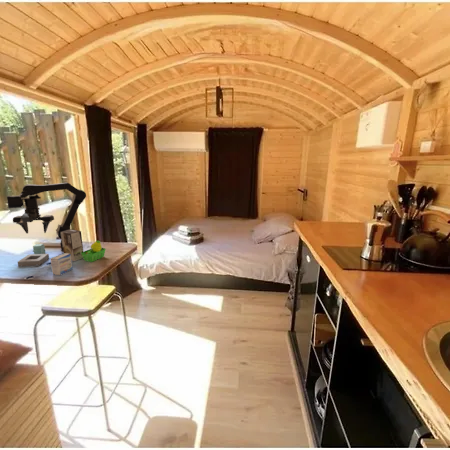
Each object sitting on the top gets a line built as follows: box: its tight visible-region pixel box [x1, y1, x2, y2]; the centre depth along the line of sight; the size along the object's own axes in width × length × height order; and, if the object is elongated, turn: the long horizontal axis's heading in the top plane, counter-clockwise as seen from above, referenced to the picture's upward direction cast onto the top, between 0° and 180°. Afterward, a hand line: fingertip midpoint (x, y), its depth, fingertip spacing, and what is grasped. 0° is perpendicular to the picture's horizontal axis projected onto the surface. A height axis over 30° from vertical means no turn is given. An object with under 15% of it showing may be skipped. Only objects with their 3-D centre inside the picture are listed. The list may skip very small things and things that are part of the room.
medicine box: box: [50, 252, 73, 276], centre depth 126 cm, size 8×4×9 cm, turn 168°
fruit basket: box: [81, 240, 107, 263], centre depth 143 cm, size 11×9×11 cm
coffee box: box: [60, 228, 84, 262], centre depth 143 cm, size 9×6×16 cm
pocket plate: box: [17, 253, 50, 267], centre depth 138 cm, size 10×11×2 cm
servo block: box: [32, 243, 46, 254], centre depth 149 cm, size 4×7×6 cm, turn 12°
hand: (36, 233), depth 147 cm, fingers open, 9 cm apart
